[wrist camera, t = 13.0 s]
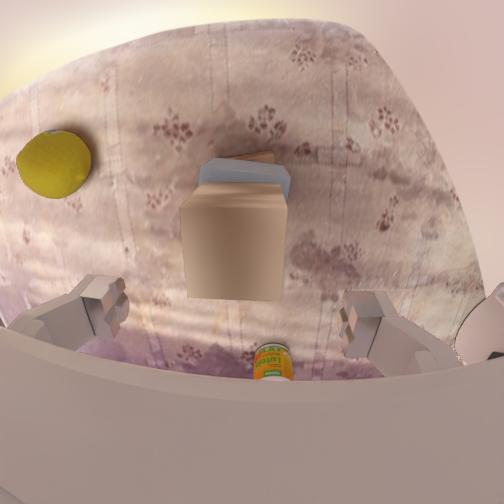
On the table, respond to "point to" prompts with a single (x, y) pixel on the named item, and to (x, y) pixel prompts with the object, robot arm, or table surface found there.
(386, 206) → the table surface
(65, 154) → the lemon
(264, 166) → the top block
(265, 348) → the supplement bottle
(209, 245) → the maple block
